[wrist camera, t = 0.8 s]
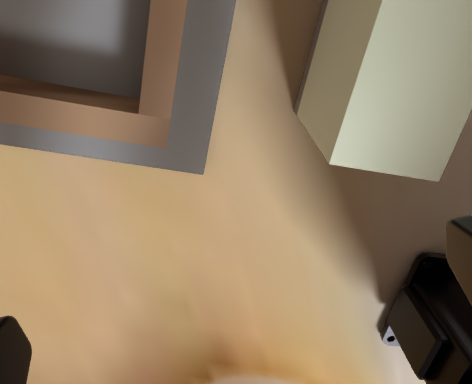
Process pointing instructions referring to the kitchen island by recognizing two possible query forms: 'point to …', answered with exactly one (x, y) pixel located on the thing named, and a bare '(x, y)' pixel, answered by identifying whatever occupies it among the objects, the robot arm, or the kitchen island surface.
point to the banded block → (389, 84)
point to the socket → (113, 78)
